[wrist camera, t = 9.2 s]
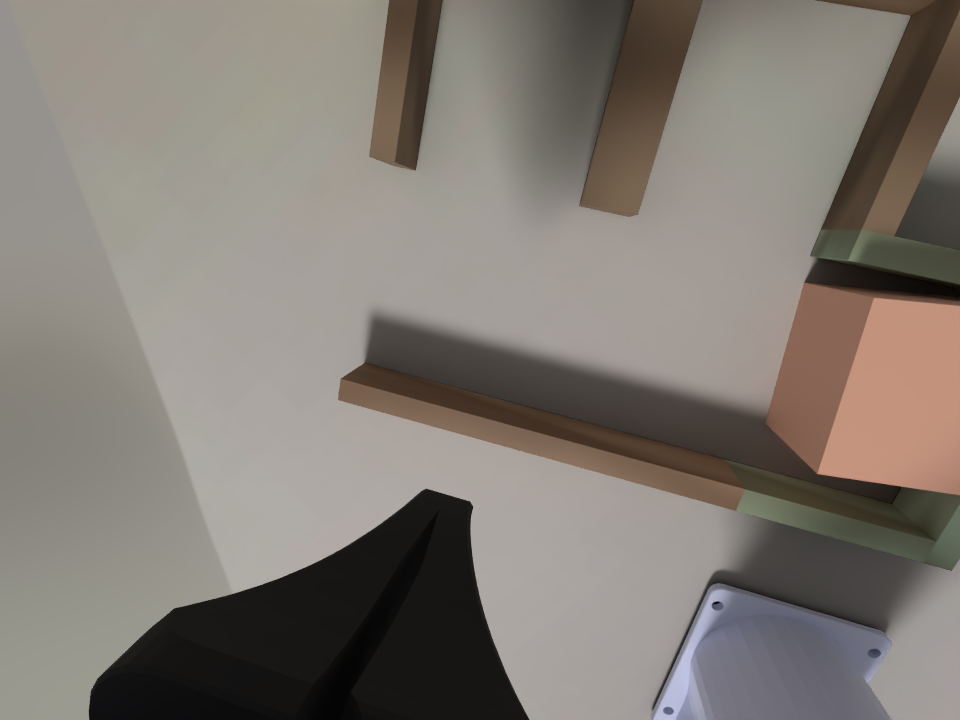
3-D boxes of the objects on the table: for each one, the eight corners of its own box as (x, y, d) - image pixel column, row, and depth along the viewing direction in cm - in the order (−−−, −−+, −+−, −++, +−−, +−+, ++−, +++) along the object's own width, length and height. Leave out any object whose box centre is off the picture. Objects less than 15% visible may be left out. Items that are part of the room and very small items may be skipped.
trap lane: (905, 530, 20) (951, 570, 18) (361, 382, 23) (338, 399, 20) (1205, 22, 14) (1332, -20, 12) (430, -96, 17) (408, -148, 15)
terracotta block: (919, 443, 19) (1021, 504, 15) (763, 422, 20) (817, 474, 16) (975, 298, 17) (1109, 320, 13) (802, 282, 18) (873, 297, 14)
